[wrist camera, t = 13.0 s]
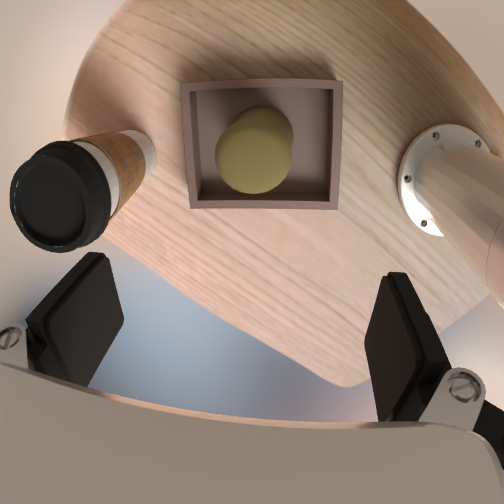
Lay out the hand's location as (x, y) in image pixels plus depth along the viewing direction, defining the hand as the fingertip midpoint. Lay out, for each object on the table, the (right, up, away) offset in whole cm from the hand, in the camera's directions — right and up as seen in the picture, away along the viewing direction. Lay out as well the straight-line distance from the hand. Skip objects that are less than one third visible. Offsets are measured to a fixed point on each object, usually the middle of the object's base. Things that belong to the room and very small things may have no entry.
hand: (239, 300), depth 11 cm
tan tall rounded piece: (+1, +13, +19) cm, 23 cm away
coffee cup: (-12, +12, +21) cm, 27 cm away
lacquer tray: (+2, +12, +19) cm, 23 cm away
